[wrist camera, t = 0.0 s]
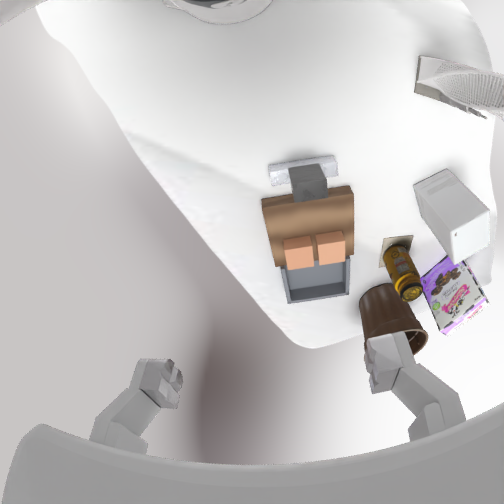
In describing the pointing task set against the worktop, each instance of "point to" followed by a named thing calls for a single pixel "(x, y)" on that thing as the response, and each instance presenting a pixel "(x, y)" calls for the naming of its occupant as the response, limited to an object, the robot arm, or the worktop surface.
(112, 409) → the robot arm
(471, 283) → the candy box
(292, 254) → the tile
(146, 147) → the worktop surface
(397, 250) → the condiment
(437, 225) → the supplement box
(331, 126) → the worktop surface
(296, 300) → the tray
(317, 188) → the scraper
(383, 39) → the worktop surface
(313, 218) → the board
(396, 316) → the plant pot
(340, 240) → the tile
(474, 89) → the skyscraper
